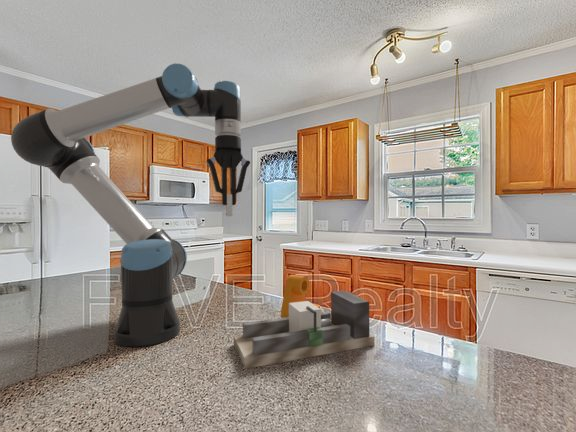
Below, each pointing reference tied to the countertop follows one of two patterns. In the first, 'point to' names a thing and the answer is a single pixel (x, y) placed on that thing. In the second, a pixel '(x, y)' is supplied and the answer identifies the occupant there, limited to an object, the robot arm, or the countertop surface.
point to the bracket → (294, 292)
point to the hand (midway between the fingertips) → (229, 216)
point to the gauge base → (294, 353)
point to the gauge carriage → (305, 317)
